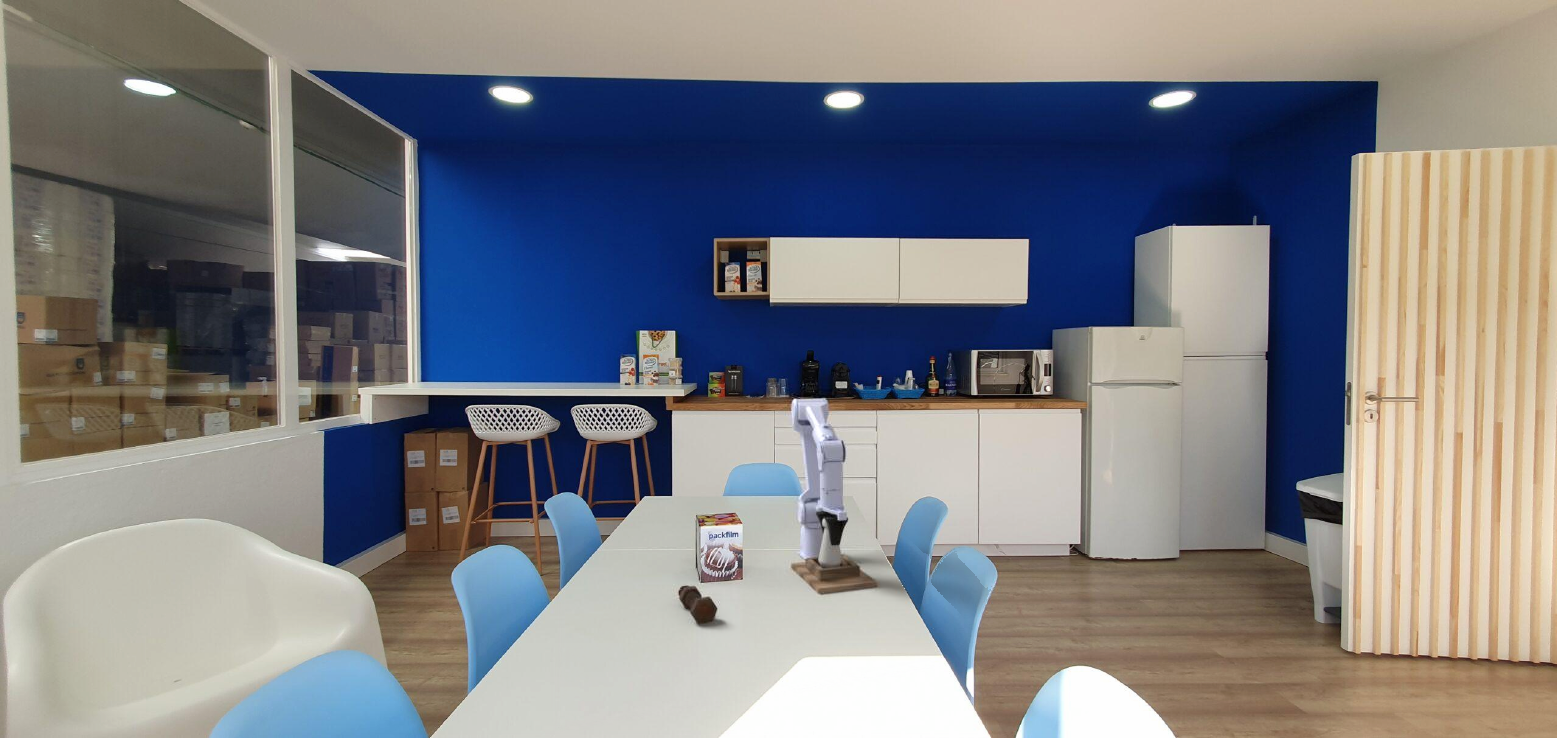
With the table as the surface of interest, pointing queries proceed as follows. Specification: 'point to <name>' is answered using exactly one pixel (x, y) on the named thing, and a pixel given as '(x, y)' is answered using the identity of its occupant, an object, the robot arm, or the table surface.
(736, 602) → the table surface
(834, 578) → the socket board
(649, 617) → the table surface
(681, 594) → the bolt
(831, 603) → the table surface
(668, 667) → the table surface
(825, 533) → the salt shaker
